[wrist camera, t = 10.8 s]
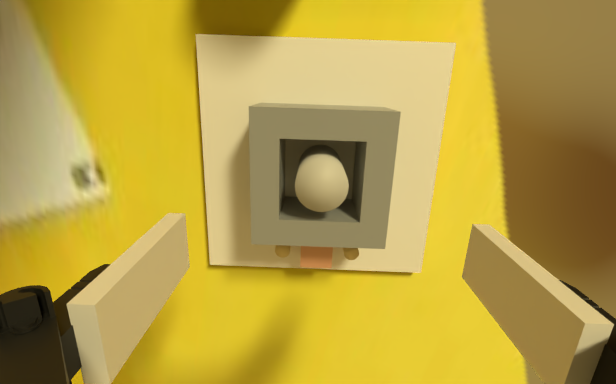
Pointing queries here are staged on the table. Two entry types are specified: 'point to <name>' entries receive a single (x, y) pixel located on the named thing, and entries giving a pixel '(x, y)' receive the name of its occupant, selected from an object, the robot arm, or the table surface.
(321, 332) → the table surface
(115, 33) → the table surface
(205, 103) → the post block
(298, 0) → the table surface
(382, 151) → the grey hollow box
